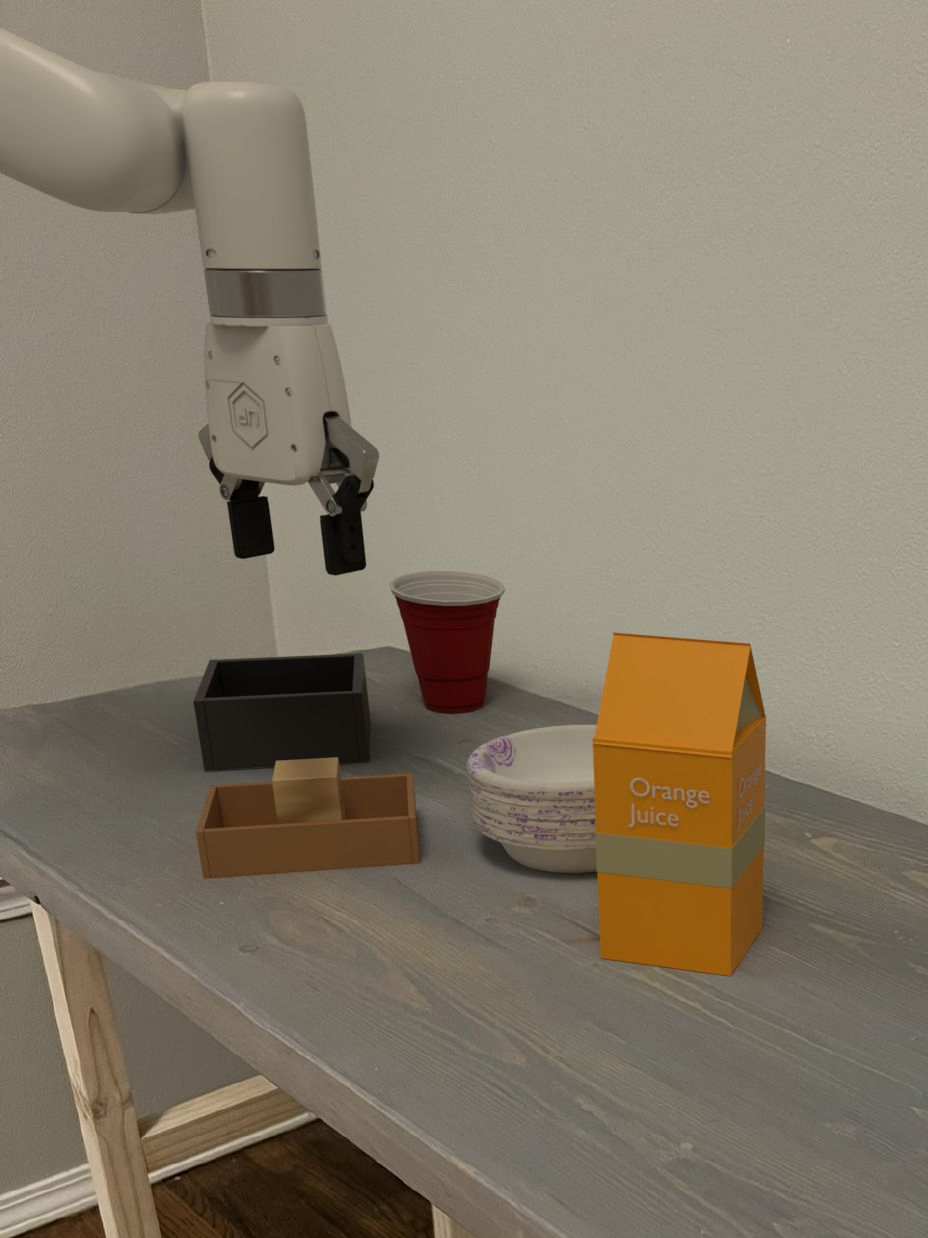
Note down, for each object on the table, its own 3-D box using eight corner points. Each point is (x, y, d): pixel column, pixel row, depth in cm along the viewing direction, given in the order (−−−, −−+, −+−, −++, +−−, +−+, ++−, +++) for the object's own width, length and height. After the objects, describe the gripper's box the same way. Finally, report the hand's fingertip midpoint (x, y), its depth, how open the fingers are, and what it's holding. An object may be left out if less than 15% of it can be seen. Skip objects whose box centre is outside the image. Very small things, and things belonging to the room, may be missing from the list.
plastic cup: (451, 728, 138) (440, 598, 133) (377, 707, 144) (364, 582, 139) (535, 703, 146) (528, 580, 140) (461, 684, 152) (452, 565, 146)
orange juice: (731, 977, 92) (733, 659, 83) (598, 958, 94) (586, 647, 85) (764, 927, 99) (769, 628, 90) (639, 911, 101) (633, 617, 92)
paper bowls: (460, 828, 115) (452, 729, 111) (649, 809, 119) (647, 713, 115) (491, 903, 102) (483, 794, 98) (703, 879, 106) (702, 774, 103)
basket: (205, 777, 125) (192, 700, 122) (220, 730, 137) (209, 659, 134) (370, 767, 128) (361, 692, 125) (370, 722, 140) (363, 652, 137)
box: (204, 884, 105) (195, 831, 103) (217, 834, 113) (209, 785, 111) (420, 869, 107) (415, 817, 106) (417, 821, 116) (412, 773, 114)
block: (282, 858, 108) (271, 780, 105) (286, 836, 112) (275, 760, 109) (346, 854, 109) (336, 776, 106) (347, 832, 112) (338, 756, 110)
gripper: (137, 298, 100) (179, 557, 107) (310, 306, 91) (342, 588, 99) (229, 295, 105) (262, 542, 113) (401, 302, 96) (424, 570, 104)
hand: (300, 563), depth 106 cm, fingers open, 9 cm apart
